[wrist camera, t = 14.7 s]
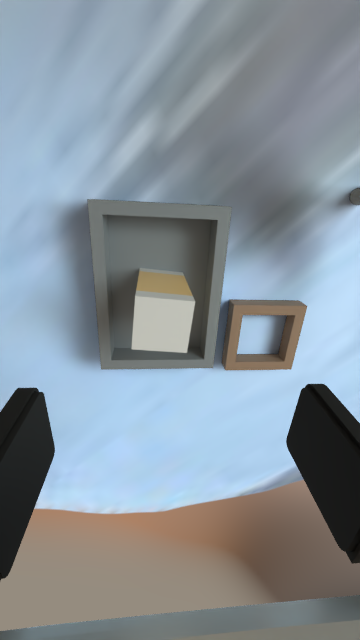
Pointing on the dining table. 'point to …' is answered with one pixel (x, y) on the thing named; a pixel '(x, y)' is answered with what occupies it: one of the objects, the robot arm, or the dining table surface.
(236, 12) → the dining table surface
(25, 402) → the robot arm
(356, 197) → the mechanical component
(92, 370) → the dining table surface
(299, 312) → the brown flat square frame
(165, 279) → the block
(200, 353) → the parts tray
